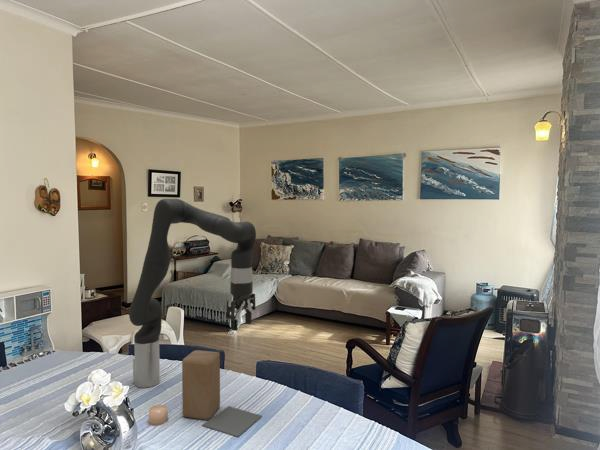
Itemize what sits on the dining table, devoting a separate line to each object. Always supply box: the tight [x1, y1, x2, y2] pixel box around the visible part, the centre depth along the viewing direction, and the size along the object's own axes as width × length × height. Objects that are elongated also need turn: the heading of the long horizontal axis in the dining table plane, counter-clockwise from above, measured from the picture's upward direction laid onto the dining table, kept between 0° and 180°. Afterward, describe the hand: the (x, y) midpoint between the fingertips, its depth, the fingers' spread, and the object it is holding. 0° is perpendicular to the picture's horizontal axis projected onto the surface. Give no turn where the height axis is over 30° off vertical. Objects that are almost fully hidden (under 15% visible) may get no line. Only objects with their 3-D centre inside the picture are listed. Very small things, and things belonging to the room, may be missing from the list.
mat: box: [201, 405, 263, 438], centre depth 140 cm, size 14×14×1 cm
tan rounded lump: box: [148, 404, 169, 426], centre depth 140 cm, size 6×6×4 cm
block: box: [181, 349, 221, 421], centre depth 146 cm, size 10×10×20 cm
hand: (241, 326), depth 147 cm, fingers open, 8 cm apart
